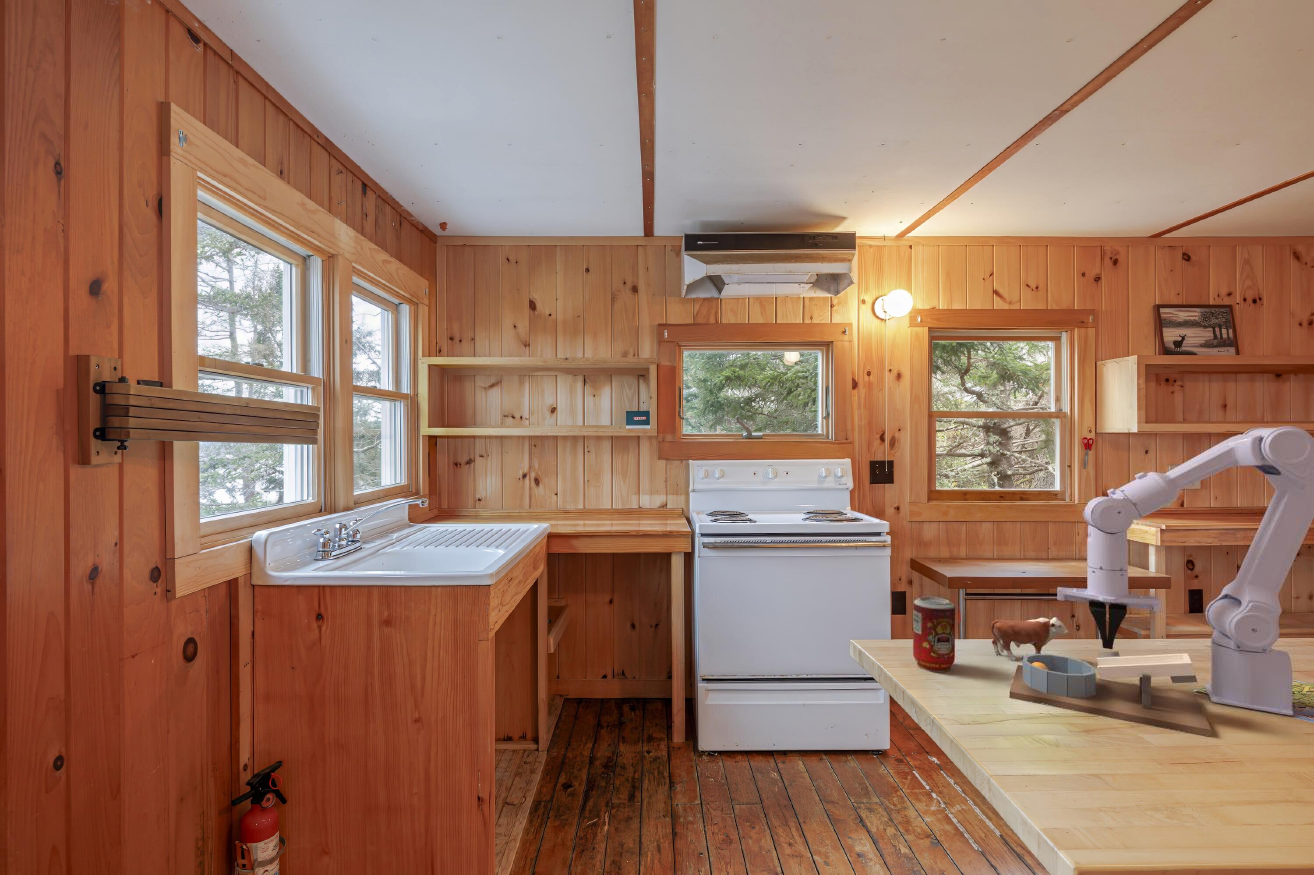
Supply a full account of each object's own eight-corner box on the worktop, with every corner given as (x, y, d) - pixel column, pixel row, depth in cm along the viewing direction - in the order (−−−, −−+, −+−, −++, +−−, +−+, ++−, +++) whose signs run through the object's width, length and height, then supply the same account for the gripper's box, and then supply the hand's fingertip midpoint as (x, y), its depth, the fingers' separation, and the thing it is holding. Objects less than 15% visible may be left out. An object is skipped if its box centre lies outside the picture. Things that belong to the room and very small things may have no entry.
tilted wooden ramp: (1186, 658, 107) (1181, 640, 108) (1198, 683, 96) (1191, 662, 97) (1100, 662, 114) (1095, 645, 114) (1102, 686, 103) (1096, 667, 103)
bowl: (1095, 682, 109) (1095, 661, 109) (1095, 702, 101) (1096, 680, 101) (1025, 670, 115) (1025, 650, 115) (1020, 688, 107) (1020, 667, 107)
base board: (1196, 701, 104) (1196, 663, 104) (1211, 737, 92) (1211, 694, 92) (1017, 670, 118) (1017, 637, 118) (1009, 697, 105) (1009, 660, 105)
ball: (1050, 678, 110) (1048, 660, 110) (1050, 684, 107) (1047, 665, 108) (1030, 677, 112) (1027, 659, 112) (1029, 682, 109) (1026, 664, 109)
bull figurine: (1071, 665, 121) (1071, 620, 121) (992, 659, 124) (993, 616, 124) (1061, 657, 125) (1061, 614, 125) (986, 652, 128) (986, 610, 128)
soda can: (929, 675, 115) (930, 605, 115) (905, 661, 122) (905, 596, 122) (963, 671, 117) (964, 603, 117) (937, 659, 124) (937, 594, 124)
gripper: (1056, 566, 112) (1056, 646, 112) (1163, 576, 104) (1163, 661, 104) (1058, 560, 118) (1058, 635, 118) (1159, 569, 110) (1159, 650, 110)
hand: (1107, 647), depth 111 cm, fingers closed
